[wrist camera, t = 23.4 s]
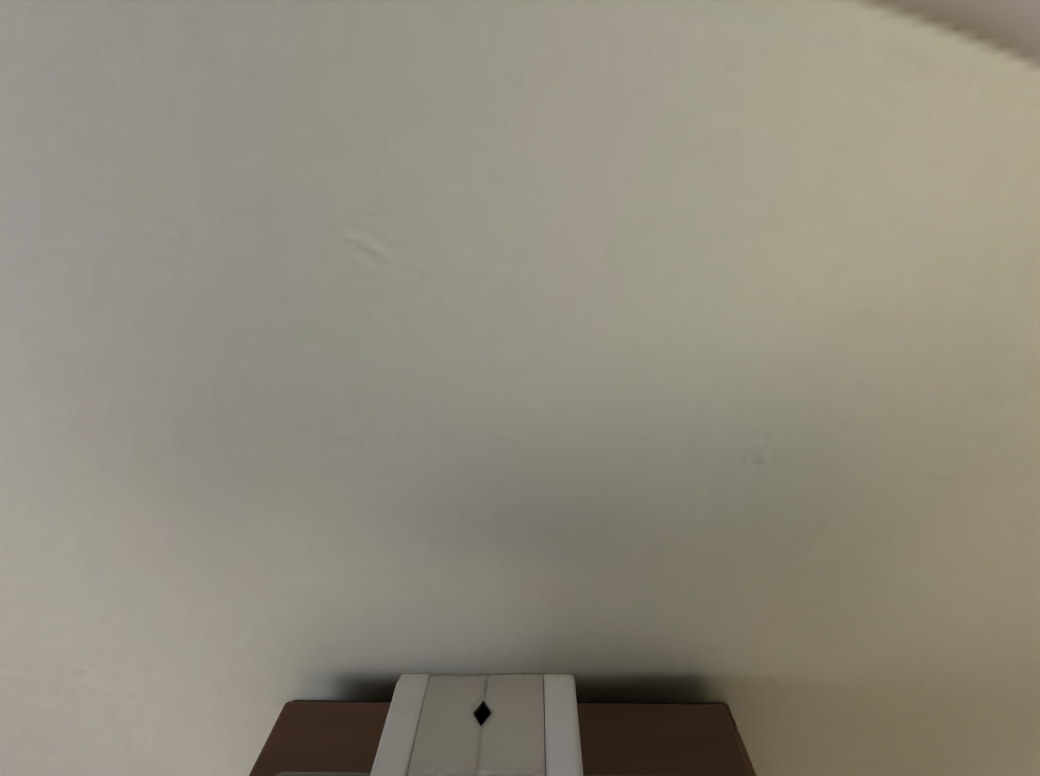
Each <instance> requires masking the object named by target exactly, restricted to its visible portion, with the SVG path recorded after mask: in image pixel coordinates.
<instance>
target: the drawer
mask: <svg viewBox="0 0 1040 776" xmlns="http://www.w3.org/2000/svg"><path fill="white" fill-rule="evenodd" d="M390 705H391V702H287V703H286V704H285V705H284V707H283V709H282V711H281V713H280V715H279V717H278V719H277V721H276V723H275V725H274V727H273V729H272V731H271V733H270V735H269V737H268V739H267V741H266V743H265V745H264V747H263V749H262V751H261V753H260V755H259V757H258V759H257V761H256V763H255V765H254V767H253V769H252V771H251V773H250V775H249V776H370V774H371V770H372V767H373V764H374V760H375V757H376V753H377V750H378V746H379V743H380V739H381V736H382V732H383V729H384V725H385V722H386V718H387V715H388V712H389V708H390ZM577 711H578V722H579V732H580V743H581V754H582V765H583V776H751V773H750V771H749V768H748V766H747V763H746V760H745V758H744V755H743V753H742V750H741V748H740V745H739V742H738V740H737V737H736V735H735V732H734V730H733V727H732V724H731V722H730V719H729V717H728V714H727V712H726V709H725V707H724V705H722V704H577Z"/></svg>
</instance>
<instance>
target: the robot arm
mask: <svg viewBox="0 0 1040 776" xmlns="http://www.w3.org/2000/svg"><path fill="white" fill-rule="evenodd" d="M543 686H544V687H543ZM370 776H583V765H582V754H581V743H580V732H579V722H578V711H577V700H576V689H575V680H574V677H573V674H571V675H544V677H543V674H503V675H486V676H468V675H434V674H402V675H401V677H400V679H399V680H398V682H397V684H396V687H395V691H394V694H393V698H392V701H391V705H390V708H389V712H388V715H387V718H386V722H385V725H384V729H383V732H382V736H381V739H380V743H379V746H378V750H377V753H376V757H375V760H374V764H373V767H372V770H371V774H370Z"/></svg>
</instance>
